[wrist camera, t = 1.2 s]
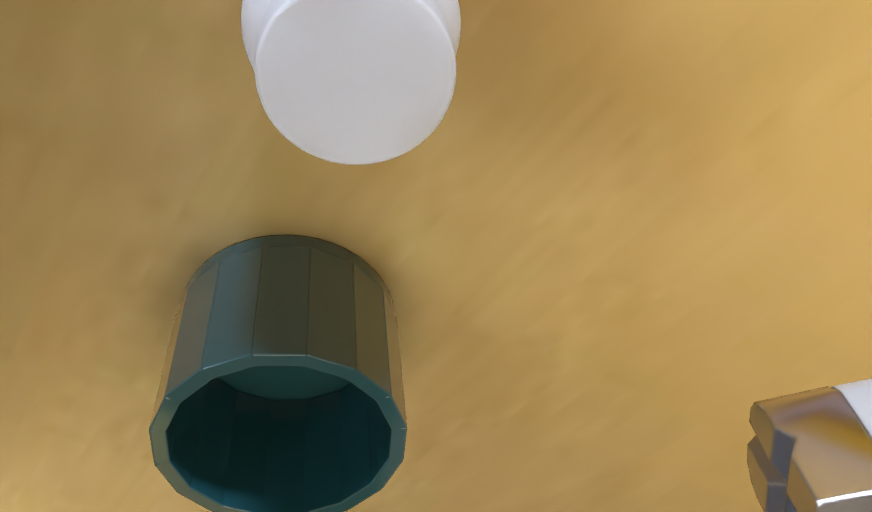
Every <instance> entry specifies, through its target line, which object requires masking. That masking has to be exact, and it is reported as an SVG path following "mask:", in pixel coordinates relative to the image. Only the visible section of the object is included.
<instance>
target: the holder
mask: <svg viewBox="0 0 872 512" xmlns="http://www.w3.org/2000/svg"><path fill="white" fill-rule="evenodd" d="M406 433H407V422H406V411H405V401H404V390H403V380H402V369H401V358H400V348H399V337H398V327H397V318H396V316H395V313H394V307H393V302H392V299H391V296H390V293H389V291H388V289H387V287H386V285H385V283H384V282H383V280H382V279H381V278H380V276H379V275H378V274H377V272H376V271H375V270H374V269H373V268H372V267H371V266H369V265H368V264H367V263H366V262H365V261H364V260H362V259H361V258H360V257H358V256H357V255H355V254H353V253H352V252H350V251H348V250H346V249H345V248H342V247H340V246H338V245H335V244H333V243H330V242H327V241H323V240H320V239H316V238H310V237H305V236H294V235H275V236H266V237H259V238H255V239H251V240H247V241H243V242H240V243H238V244H235V245H233V246H230V247H228V248H226V249H224V250H222V251H221V252H219V253H217V254H216V255H214V256H213V257H211V258H210V259H209V260H207V261H206V262H205V263H204V264H203V265H202V266H201V267H200V268H199V269H198V270H197V271H196V272H195V273H194V275H193V276H192V277H191V278H190V280H189V282H188V284H187V285H186V287H185V289H184V292H183V295H182V298H181V301H180V305H179V309H178V311H177V313H176V315H175V319H174V323H173V327H172V332H171V336H170V340H169V345H168V349H167V354H166V358H165V362H164V367H163V371H162V375H161V380H160V384H159V388H158V393H157V397H156V401H155V406H154V410H153V414H152V419H151V423H150V427H149V434H150V440H151V447H152V453H153V459H154V463H155V466H156V467H157V468H158V470H159V471H160V472H161V473H162V474H163V476H164V477H165V478H166V479H167V481H168V482H169V483H170V484H171V486H172V487H173V488H174V489H175V490H176V492H177V493H179V494H181V495H182V496H184V497H186V498H188V499H190V500H192V501H193V502H195V503H197V504H199V505H201V506H202V507H204V508H206V509H208V510H210V511H212V512H344V511H347V510H349V509H351V508H353V507H354V506H356V505H357V504H359V503H361V502H362V501H364V500H365V499H367V498H369V497H370V496H372V495H373V494H375V493H377V492H378V491H380V490H381V489H382V488H383V487H384V486H385V485H386V483H387V482H388V480H389V479H390V478H391V476H392V475H393V474H394V472H395V471H396V469H397V468H398V467H399V465H400V464H401V463H402V461H403V459H404V451H405V442H406Z"/></svg>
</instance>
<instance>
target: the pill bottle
mask: <svg viewBox="0 0 872 512" xmlns="http://www.w3.org/2000/svg"><path fill="white" fill-rule="evenodd" d="M241 28H242V36H243V42H244V46H245V49H246V53H247V56H248V58H249V61H250V63H251V65H252V67H253V69H254V71H255V81H256V87H257V91H258V95H259V98H260V101H261V103H262V106H263V108H264V110H265V112H266V114H267V116H268V117H269V119H270V121H271V122H272V123H273V124H274V126H275V127H276V128H277V129H278V131H279V132H280V133H281V134H282V135H283V136H284V137H286V138H287V139H288V140H289V141H290V142H291V143H293V144H294V145H295V146H297V147H298V148H300V149H301V150H303V151H305V152H307V153H309V154H311V155H313V156H315V157H318V158H320V159H323V160H326V161H330V162H334V163H339V164H348V165H366V164H375V163H379V162H384V161H387V160H390V159H393V158H396V157H398V156H401V155H403V154H405V153H407V152H409V151H410V150H412V149H413V148H415V147H416V146H418V145H419V144H420V143H422V142H423V141H424V140H425V139H426V138H427V137H429V136H430V135H431V133H432V132H433V131H434V130H435V129H436V128H437V126H438V125H439V124H440V122H441V121H442V119H443V117H444V116H445V114H446V112H447V110H448V108H449V105H450V103H451V100H452V97H453V93H454V89H455V82H456V59H455V57H456V54H457V50H458V46H459V40H460V30H461V17H460V8H459V3H458V0H242V10H241Z"/></svg>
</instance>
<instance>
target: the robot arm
mask: <svg viewBox="0 0 872 512" xmlns="http://www.w3.org/2000/svg"><path fill="white" fill-rule="evenodd" d="M749 422H750V424H751V426H752V428H753V430H754V432H755V434H756V436H755V437H754V438H753V439H752V440H751V441H750V442H749V443H748V448H747V463H748V468H749V473H750V478H751V483H752V485H753V488H754V491H755V493H756V496H757V499H758V501H759V503H760V505H761V507H762V509H763V511H764V512H872V379H865V380H861V381H856V382H851V383H846V384H841V385H837V386H832V387H828V386H827V387H822V388H818V389H813V390H808V391H804V392H799V393H795V394H790V395H785V396H781V397H776V398H771V399H767V400H762V401H758V402H754V404H753V405H752V407H751V409H750V419H749Z"/></svg>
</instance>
